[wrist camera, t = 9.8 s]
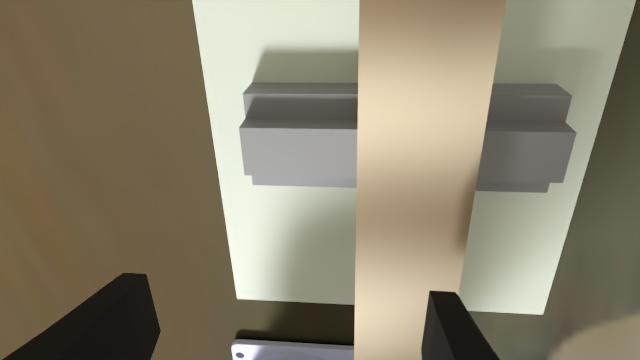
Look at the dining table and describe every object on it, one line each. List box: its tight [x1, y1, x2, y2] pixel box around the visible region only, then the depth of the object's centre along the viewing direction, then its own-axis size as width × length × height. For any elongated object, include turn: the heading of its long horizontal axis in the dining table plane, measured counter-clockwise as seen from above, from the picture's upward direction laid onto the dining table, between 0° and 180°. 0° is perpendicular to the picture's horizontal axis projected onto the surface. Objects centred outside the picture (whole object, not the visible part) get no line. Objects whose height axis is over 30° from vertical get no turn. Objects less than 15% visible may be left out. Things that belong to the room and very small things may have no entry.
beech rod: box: [354, 0, 506, 360], centre depth 14 cm, size 14×3×5 cm, turn 2°
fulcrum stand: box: [192, 0, 636, 315], centre depth 18 cm, size 20×16×4 cm
